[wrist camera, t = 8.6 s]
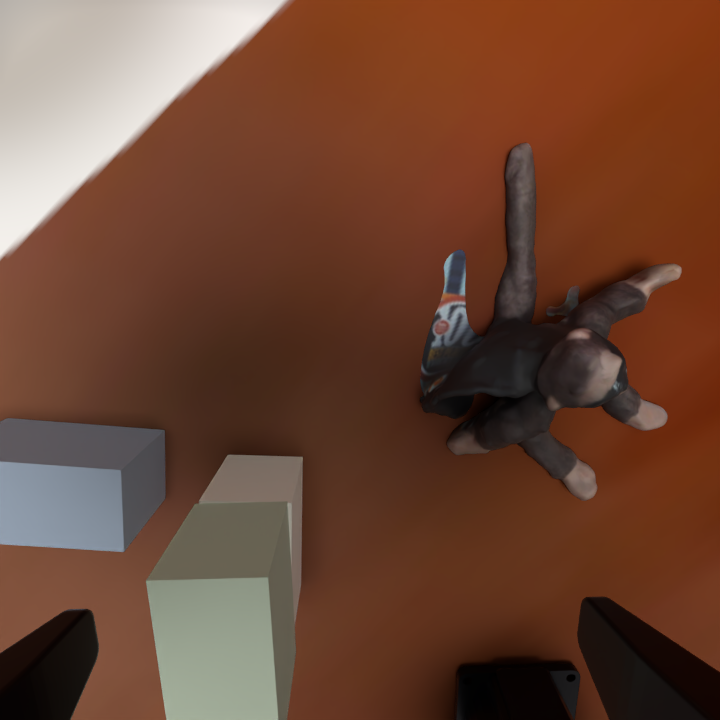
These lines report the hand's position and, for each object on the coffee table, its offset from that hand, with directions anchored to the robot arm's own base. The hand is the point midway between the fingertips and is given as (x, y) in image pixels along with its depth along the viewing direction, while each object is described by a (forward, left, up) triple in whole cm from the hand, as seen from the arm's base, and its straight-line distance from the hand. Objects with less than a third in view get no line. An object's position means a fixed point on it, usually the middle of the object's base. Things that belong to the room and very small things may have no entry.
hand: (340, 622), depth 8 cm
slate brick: (-2, +12, -12) cm, 17 cm away
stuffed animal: (+3, -8, -13) cm, 16 cm away
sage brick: (-6, +4, -8) cm, 11 cm away
